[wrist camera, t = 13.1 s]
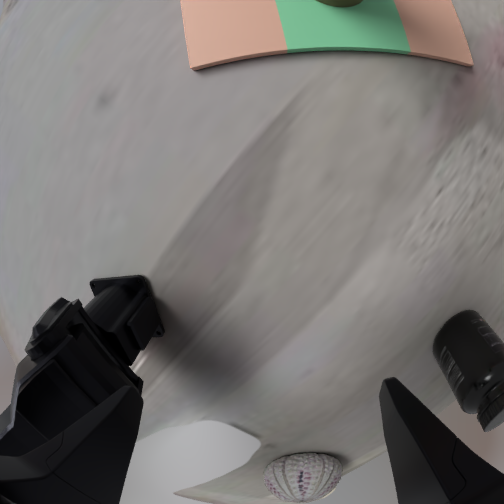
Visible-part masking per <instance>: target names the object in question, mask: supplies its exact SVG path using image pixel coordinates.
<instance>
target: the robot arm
mask: <svg viewBox="0 0 504 504" xmlns="http://www.w3.org/2000/svg"><path fill="white" fill-rule="evenodd" d="M138 280H140V282H141V283H140V282H139V281H138ZM94 284H95V285H94ZM90 287H91V289H92V291H93V294H94V296H95V297H94V298H93V299H92V300H91V301H90V302H89V303H88V304H87V305H86V306H85V307H84V308H83V307H82V303H81V302H80V300H79V299H77V300H75V301H73V302H70V301H67V300H66V299H64V298H62V297H61V298H59V299H58V300H57V301H56V302H55V303H53V304H52V305H51V306H50V307H49V308H48V309H47V310H46V311H45V312H44V313H43V315H42V316H41V317H40V318H39V320H38V321H37V322H36V324H35V325H34V327H33V332H32V336H31V338H30V340H29V342H28V344H27V346H26V348H25V351H26V353H27V354H28V355H27V356H26V357H25V358H24V359H23V360H22V361H21V362H20V363H19V364H18V366H17V369H16V374H15V379H14V385H13V392H12V399H11V404H10V405H9V406H8V408H7V409H6V410H5V411H4V412H3V413H2V414H1V415H0V504H119V502H120V497H121V494H122V490H123V486H124V482H125V478H126V474H127V471H128V467H129V463H130V460H131V456H132V452H133V449H134V446H135V442H136V439H137V435H138V431H139V425H140V420H141V414H142V409H143V399H142V397H141V395H142V388H143V380H142V379H141V378H140V377H138V376H137V375H136V374H135V373H134V372H133V371H132V370H131V368H130V367H129V366H132V364H133V363H134V361H135V359H136V357H137V356H138V354H139V352H140V351H141V350H144V349H145V348H146V346H147V344H148V342H149V341H150V339H151V337H162V336H163V335H164V333H165V330H164V328H163V326H162V323H161V319H160V317H159V314H158V312H157V309H156V307H155V304H154V301H153V299H152V298H151V295H150V292H149V289H148V287H147V284H146V281H145V279H144V277H143V276H141V275H133V276H123V277H112V278H101V279H93V280H92V281H91V282H90ZM158 331H159V332H158ZM379 400H380V406H381V414H382V421H383V430H384V436H385V441H386V445H387V449H388V453H389V458H390V462H391V467H392V472H393V477H394V482H395V486H396V492H397V498H398V503H399V504H504V474H503V473H501V472H500V471H498V470H497V469H496V468H494V467H493V466H491V465H490V464H489V463H487V462H486V461H485V460H483V459H482V458H481V457H479V456H478V455H477V454H475V453H474V452H473V451H472V450H470V448H468V447H467V446H466V445H465V444H464V443H463V442H462V441H461V440H460V439H459V438H457V436H456V435H455V434H454V433H453V432H452V431H451V430H450V429H449V428H448V427H446V426H445V425H444V424H443V423H442V422H441V421H440V420H439V419H438V418H437V417H436V416H435V415H434V414H433V413H432V412H431V411H430V410H429V409H428V408H427V407H426V406H425V405H424V404H423V403H422V402H421V401H420V400H419V399H418V398H416V397H415V396H414V395H413V394H412V393H411V392H410V391H409V390H408V389H407V388H406V387H405V386H404V385H403V384H402V383H401V382H400V381H399V380H398V379H397V378H395V377H391V378H387V379H384V380H383V382H382V386H381V390H380V393H379Z"/></svg>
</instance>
